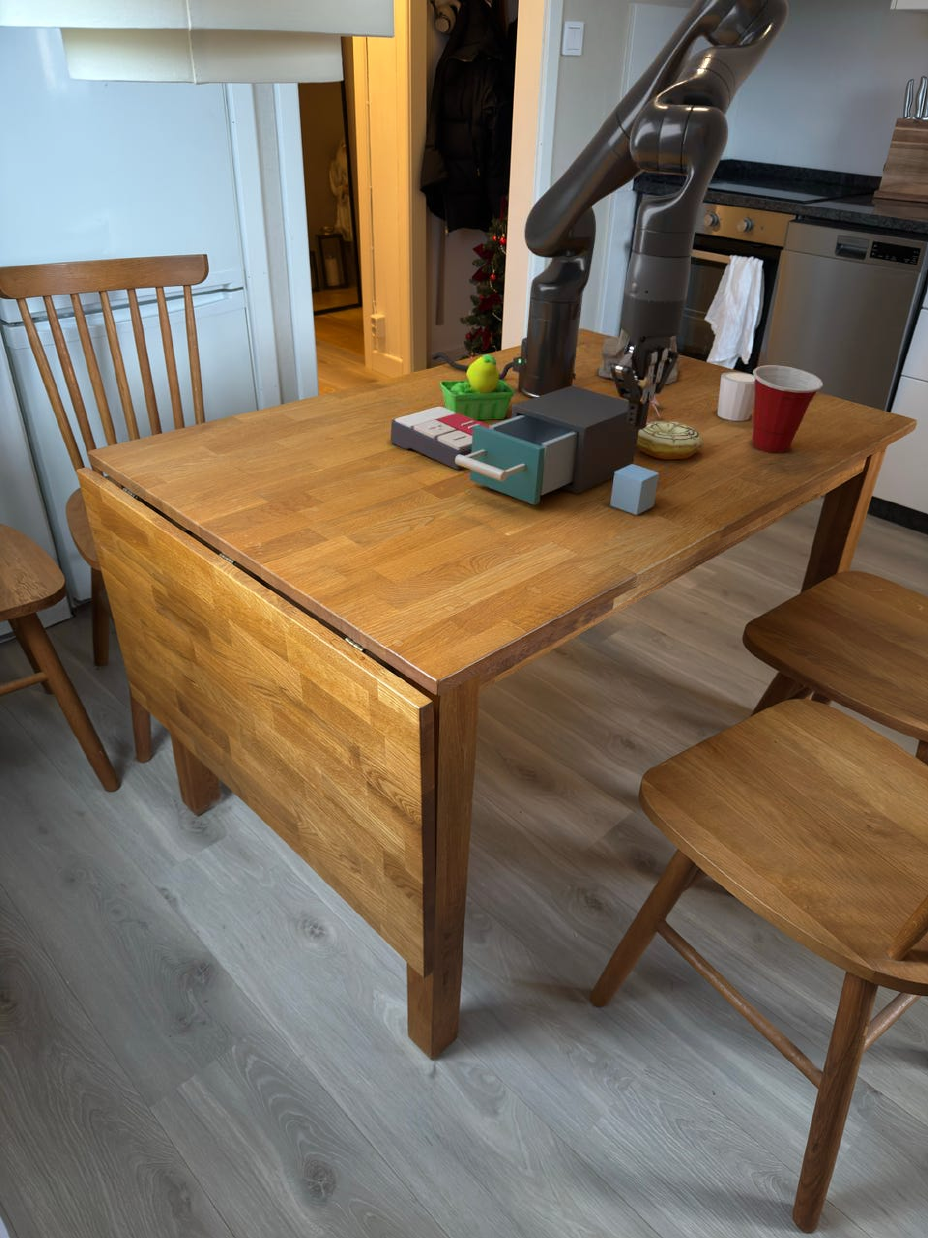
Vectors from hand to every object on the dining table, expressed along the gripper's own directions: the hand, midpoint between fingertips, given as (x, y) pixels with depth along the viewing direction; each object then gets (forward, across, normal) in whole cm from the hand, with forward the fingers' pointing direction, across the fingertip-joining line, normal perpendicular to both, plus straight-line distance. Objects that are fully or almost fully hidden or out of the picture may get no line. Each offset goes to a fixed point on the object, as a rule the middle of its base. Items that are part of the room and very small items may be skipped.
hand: (635, 428), depth 118 cm
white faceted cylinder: (+11, +49, +9) cm, 51 cm away
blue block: (+11, +1, -1) cm, 11 cm away
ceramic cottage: (+11, +58, +35) cm, 69 cm away
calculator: (+11, -2, +31) cm, 33 cm away
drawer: (+10, -7, +13) cm, 18 cm away
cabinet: (+11, +6, +13) cm, 18 cm away
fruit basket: (+11, +12, +38) cm, 42 cm away
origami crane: (+11, +37, +21) cm, 44 cm away
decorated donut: (+11, +24, +8) cm, 27 cm away
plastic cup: (+11, +39, -3) cm, 41 cm away
